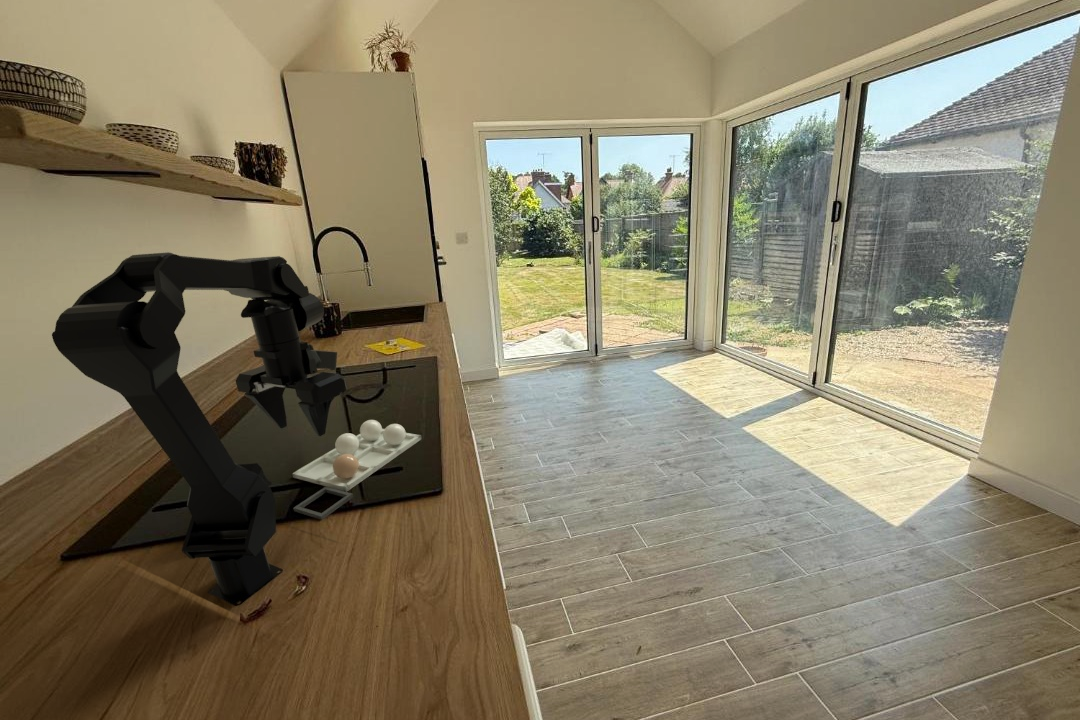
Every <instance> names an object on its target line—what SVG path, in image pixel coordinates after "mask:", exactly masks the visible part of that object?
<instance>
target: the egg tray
mask: <svg viewBox="0 0 1080 720" xmlns="http://www.w3.org/2000/svg"><path fill="white" fill-rule="evenodd" d="M384 430H385V428H382V433H381V435H380V437H379V438H378V439H376V440H374V441H367V440H365V439H363V438H362V436H361V435H360V433H358V434H357V435H355V436H356V437H357V438H358V440H359V447H358V450H357V451H356V452H355V453H354V454H352V455H354V456H355V457H356V458H357V459H358V462H359V469H358V471H357V473H356V474H355V475H354V476H352V477H350V478H347V479H342V478H339V477H337V476H336V475H335V474H334V472H333V463H334V461H335V459H336V458H337V457H338V456H340V455H341V454H339V453H338V452H337V450H336V448H333V449H331V450H330V451H328V452H326V453H325V454H323V455H321V456H320V457H317V458H316V459H314V460H312V461H311V462H309V463H308V464H306V465H304V466H302V467H300V468H299V469H297V470H296V471H294V472H293V473H291V474H292V478H294V479H298V480H301V481H305V482H309V483H312V484H316V485H319V486H323V487H329V488H333V489H337V490H341V491H344V492H348V491H350V490H352V488H355V486H357V485H358V484H360V483H361V482H362V481H364V480H366V479H367V478H368V477H369V476H371V475H372V474H374V473H375V472H377V471H379V470H380V469H381V468H382V467H384V466H385V465H387V464H388V463H390V462H391V461H392V460H394V459H395V458H397V457H398V456H399V455H401V454H402V453H404V452H405V451H407V450H408V449H410V448H411V447H413V446H414V445H415V444H417V443H418V442H419V441H421V440H422V435H421V434H414V433H409V432H406V436H405V439H404V441H403V442H402V443H401V444H399V445H395V446H393V445H389V444H387V443H386V442H385V440H384V438H383V432H384Z"/></svg>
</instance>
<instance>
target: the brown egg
mask: <svg viewBox="0 0 1080 720" xmlns="http://www.w3.org/2000/svg"><path fill="white" fill-rule="evenodd" d="M358 469H359V462H358V459H357V458H356V457H355V456H354V455H351V454H342V455H340V456H338V457H337V458H336V459H335V461H334V463H333V472H334V474H335V475H336V476H337V477H339V478H342V479H347V478H350V477H352V476H354V475H355V474H356V473H357V471H358Z"/></svg>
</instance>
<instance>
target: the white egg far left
mask: <svg viewBox="0 0 1080 720" xmlns="http://www.w3.org/2000/svg"><path fill="white" fill-rule="evenodd" d="M384 429H385V430H384V432H383V438H384V440H385V442H386V443H387V444H389V445H393V446H395V445H399V444H401V443H402V442H403V441H404V439H405V436H406V433H407V432H406V430H405V428H404V427H403V426H402V425H401V424H398V423H391V424H389V425H387V426H386V427H385V428H384Z"/></svg>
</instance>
